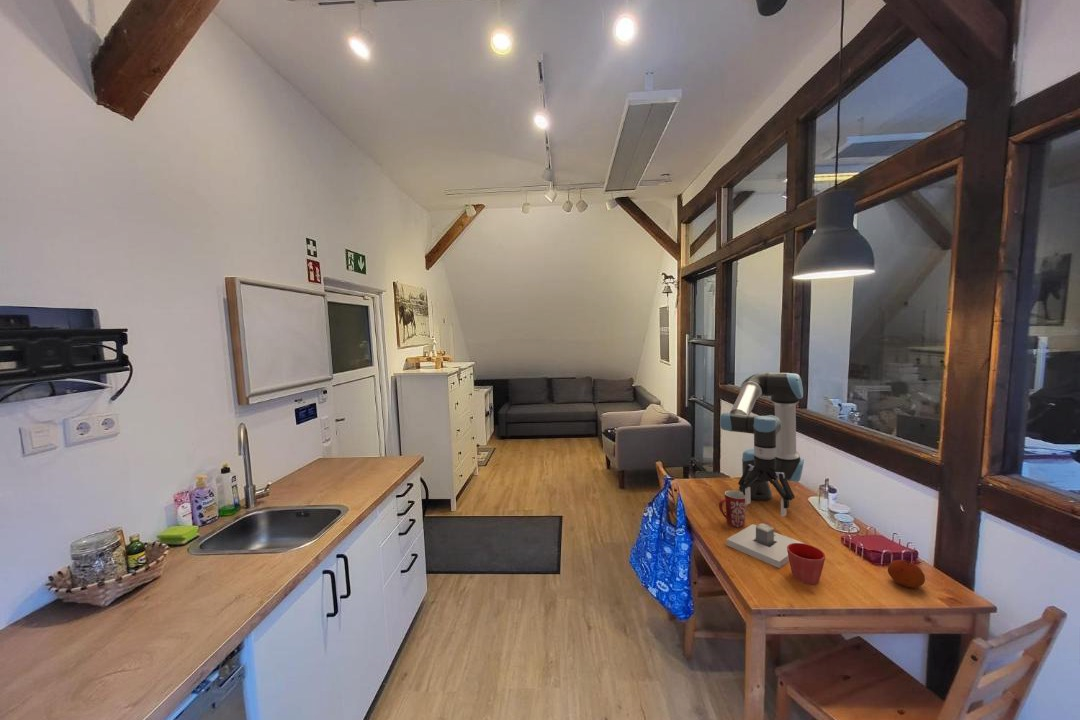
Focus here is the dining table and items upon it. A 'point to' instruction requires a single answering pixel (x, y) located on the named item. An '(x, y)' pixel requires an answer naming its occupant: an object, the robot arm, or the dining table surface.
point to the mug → (734, 508)
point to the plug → (765, 534)
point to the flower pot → (806, 562)
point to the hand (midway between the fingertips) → (765, 509)
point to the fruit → (906, 573)
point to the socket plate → (762, 546)
